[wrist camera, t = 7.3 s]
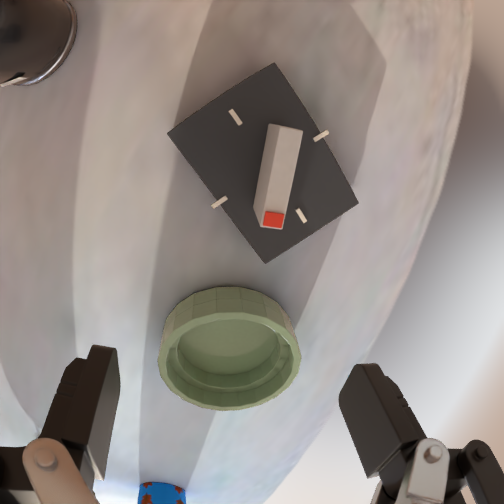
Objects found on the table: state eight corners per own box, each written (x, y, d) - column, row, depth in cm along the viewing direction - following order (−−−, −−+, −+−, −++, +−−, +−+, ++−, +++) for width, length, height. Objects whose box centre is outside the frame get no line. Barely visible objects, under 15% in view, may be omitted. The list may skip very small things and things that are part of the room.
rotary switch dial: (166, 135, 25) (160, 138, 23) (274, 64, 24) (281, 58, 21) (255, 253, 31) (259, 269, 28) (351, 191, 29) (365, 200, 27)
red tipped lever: (268, 123, 23) (280, 126, 19) (288, 127, 23) (304, 131, 19) (252, 207, 26) (260, 228, 22) (271, 210, 26) (283, 231, 22)
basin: (137, 327, 33) (129, 357, 29) (244, 257, 31) (249, 283, 27) (216, 394, 39) (217, 423, 35) (312, 344, 37) (323, 373, 33)
